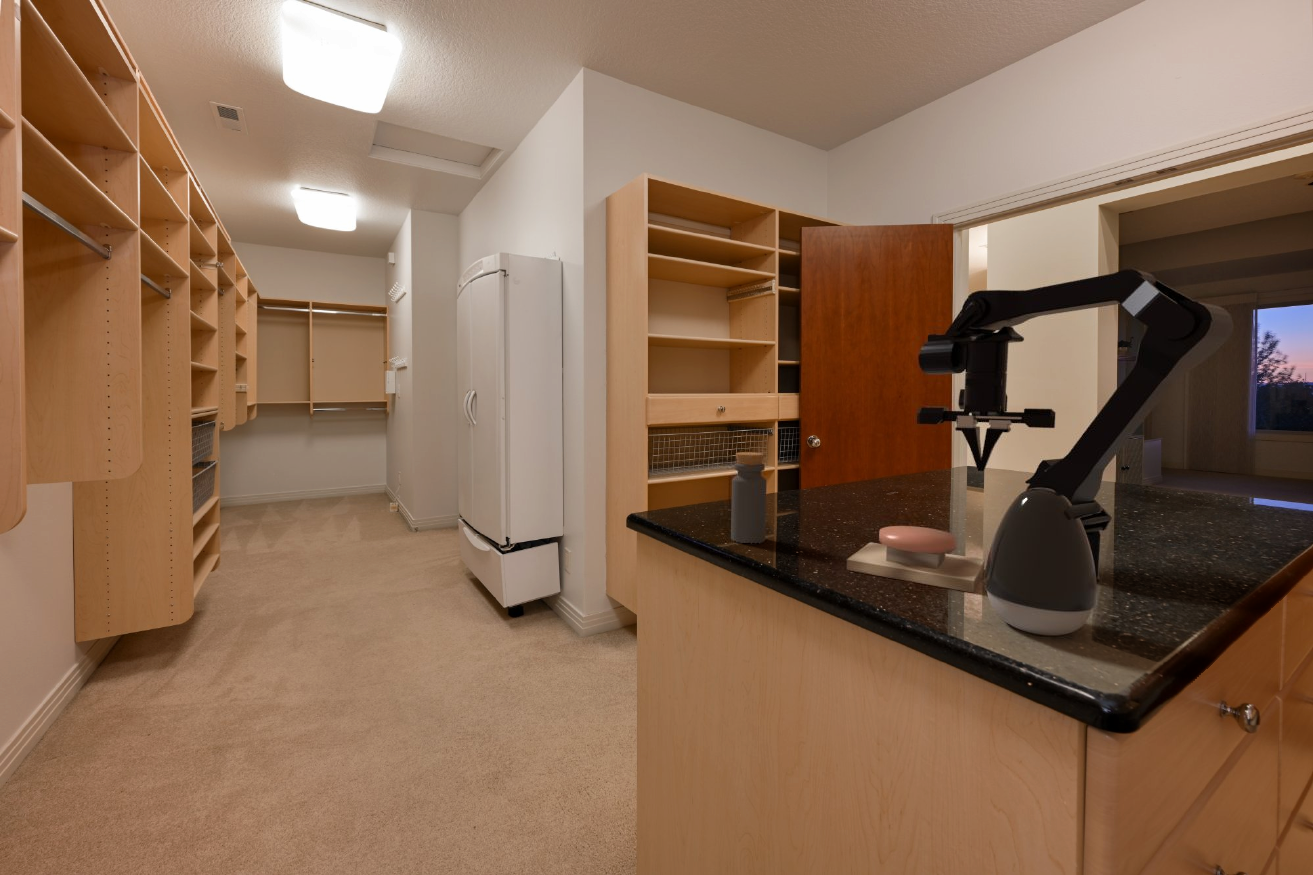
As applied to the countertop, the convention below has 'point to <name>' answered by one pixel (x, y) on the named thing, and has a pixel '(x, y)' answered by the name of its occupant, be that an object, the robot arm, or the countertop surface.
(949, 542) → the button
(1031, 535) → the pump dispenser
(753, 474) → the bottle
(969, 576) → the button base
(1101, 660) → the countertop surface
